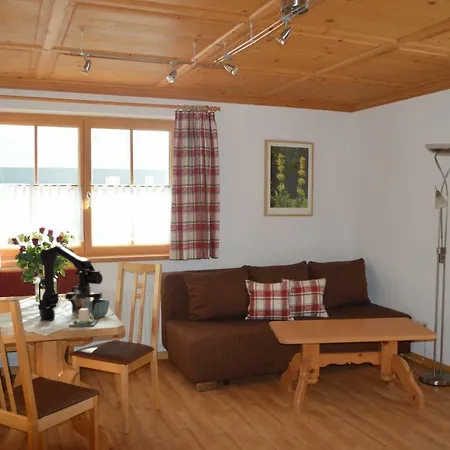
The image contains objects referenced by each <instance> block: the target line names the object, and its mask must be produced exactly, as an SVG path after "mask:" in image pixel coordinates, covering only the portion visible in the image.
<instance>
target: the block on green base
mask: <svg viewBox="0 0 450 450" xmlns="http://www.w3.org/2000/svg"><path fill="white" fill-rule="evenodd" d="M89 315H90V314H89V308H81V309H80V310H79V315H78V316H79V319H78V318H75V319H76V323H77V324H87V323H89V319H90V323H93V322H94V319H95V318H94V319H92V317H89ZM72 322H73V323H74V320H73V321H72Z"/></svg>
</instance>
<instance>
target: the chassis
mask: <svg viewBox="0 0 450 450" xmlns="http://www.w3.org/2000/svg"><path fill="white" fill-rule="evenodd" d="M76 319H79V315H77V318H73V321H74V323H73V321H71V322H70V323H69V324H68V327H69V326H70V327H71V328H73V327H74V328H75V327H76V328H77V327H78V328H79V327H81V328H82V327H83V328H85V327H88V328H89V327H91V328H92V327H95V326H96V325H97V324H98V323H99V319H95V317H94V316H92V315H91V319H94V322H93V323H90V319H89V323H87V324H77V323H76ZM70 327H69V328H70Z"/></svg>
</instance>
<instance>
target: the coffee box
mask: <svg viewBox="0 0 450 450" xmlns="http://www.w3.org/2000/svg"><path fill="white" fill-rule="evenodd" d="M77 290H78V285H74V286H72V287H71V292H75V294H76V292H77ZM89 290H90V291H91V286H89ZM75 298H76V297H75ZM89 301H91V297H86V298H85V299H77V298H76V312H75V310H74V308H73V305H72V304H71V313H72V314H73V315H77V316H79V310H80V309H81V308H89V305H88V302H89ZM89 315H91V313H90V310H89Z"/></svg>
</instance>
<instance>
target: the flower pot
mask: <svg viewBox="0 0 450 450" xmlns="http://www.w3.org/2000/svg"><path fill="white" fill-rule="evenodd" d="M92 304H93V301H92V300H90V301H89V302H88V305H89V310H90V315H91V317H92V316H94V318H102V317H106V315H107V314H108V311H109V306H110V300H106V299H99V300H98V301H97V303H96V305H95V308H94V311H93V312H92Z"/></svg>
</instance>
